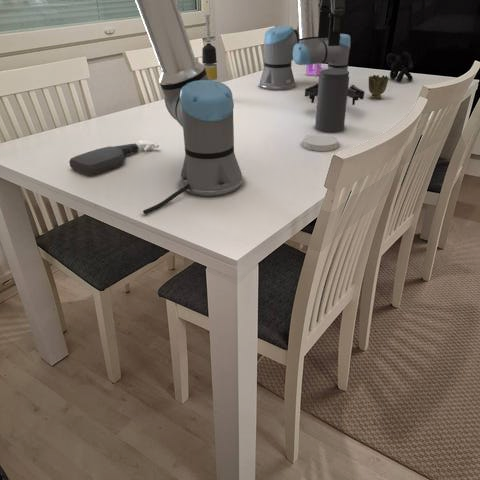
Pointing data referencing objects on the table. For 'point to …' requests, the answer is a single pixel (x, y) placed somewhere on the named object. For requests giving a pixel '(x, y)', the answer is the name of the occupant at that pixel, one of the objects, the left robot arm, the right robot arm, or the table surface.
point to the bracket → (316, 69)
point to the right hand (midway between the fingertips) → (333, 99)
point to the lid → (320, 142)
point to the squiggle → (399, 66)
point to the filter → (209, 55)
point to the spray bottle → (106, 157)
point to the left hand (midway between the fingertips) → (327, 41)
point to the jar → (332, 100)
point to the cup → (377, 85)
